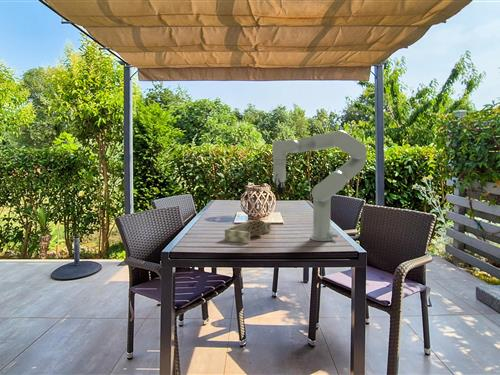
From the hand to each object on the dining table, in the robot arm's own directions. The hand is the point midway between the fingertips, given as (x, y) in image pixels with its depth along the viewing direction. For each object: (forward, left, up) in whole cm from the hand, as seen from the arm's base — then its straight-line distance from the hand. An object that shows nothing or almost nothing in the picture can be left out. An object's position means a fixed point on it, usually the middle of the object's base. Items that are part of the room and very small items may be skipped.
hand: (280, 194), depth 187 cm
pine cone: (+16, +9, -25) cm, 31 cm away
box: (+17, +7, -25) cm, 31 cm away
